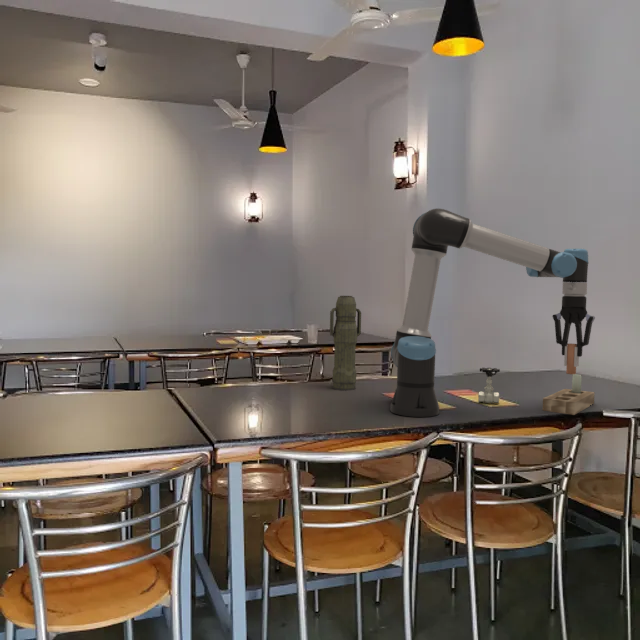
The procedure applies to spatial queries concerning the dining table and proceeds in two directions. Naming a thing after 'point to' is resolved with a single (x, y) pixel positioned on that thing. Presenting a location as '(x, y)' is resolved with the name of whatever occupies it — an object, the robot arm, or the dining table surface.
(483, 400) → the valve
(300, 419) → the dining table surface
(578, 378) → the sage peg
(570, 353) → the terracotta peg
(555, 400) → the beech block
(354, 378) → the thermos
